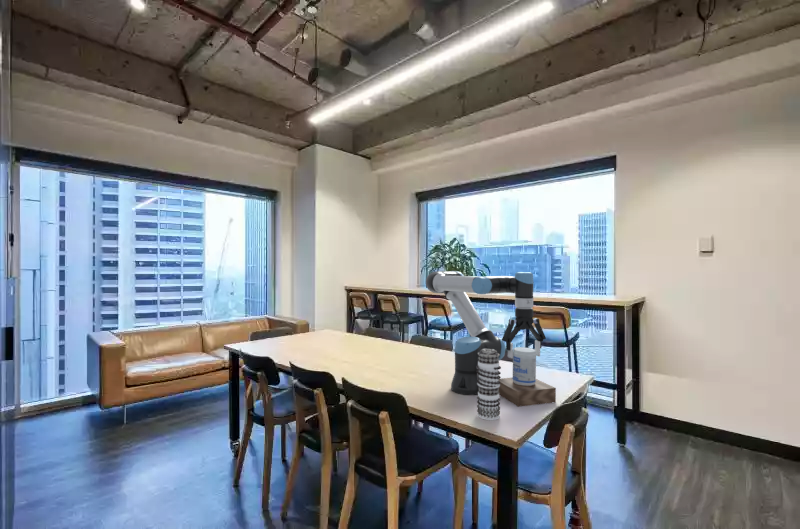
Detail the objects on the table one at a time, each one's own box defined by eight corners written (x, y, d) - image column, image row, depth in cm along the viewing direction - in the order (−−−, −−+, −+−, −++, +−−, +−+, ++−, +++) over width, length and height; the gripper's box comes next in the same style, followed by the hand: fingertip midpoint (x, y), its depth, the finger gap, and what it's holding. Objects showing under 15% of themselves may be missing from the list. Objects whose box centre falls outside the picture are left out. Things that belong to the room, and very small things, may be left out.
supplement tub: (510, 384, 164) (510, 350, 164) (514, 378, 172) (514, 346, 172) (534, 388, 159) (534, 352, 159) (537, 381, 168) (537, 348, 168)
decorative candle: (495, 410, 151) (495, 346, 151) (505, 419, 141) (505, 352, 141) (472, 411, 149) (472, 347, 149) (481, 421, 140) (481, 353, 140)
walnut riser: (517, 406, 155) (517, 391, 155) (494, 392, 172) (494, 379, 172) (555, 402, 159) (555, 387, 160) (529, 388, 177) (529, 375, 177)
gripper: (503, 309, 159) (503, 360, 159) (554, 307, 166) (554, 356, 166) (494, 307, 166) (493, 356, 166) (543, 306, 173) (543, 353, 173)
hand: (524, 356), depth 166 cm, fingers open, 13 cm apart
